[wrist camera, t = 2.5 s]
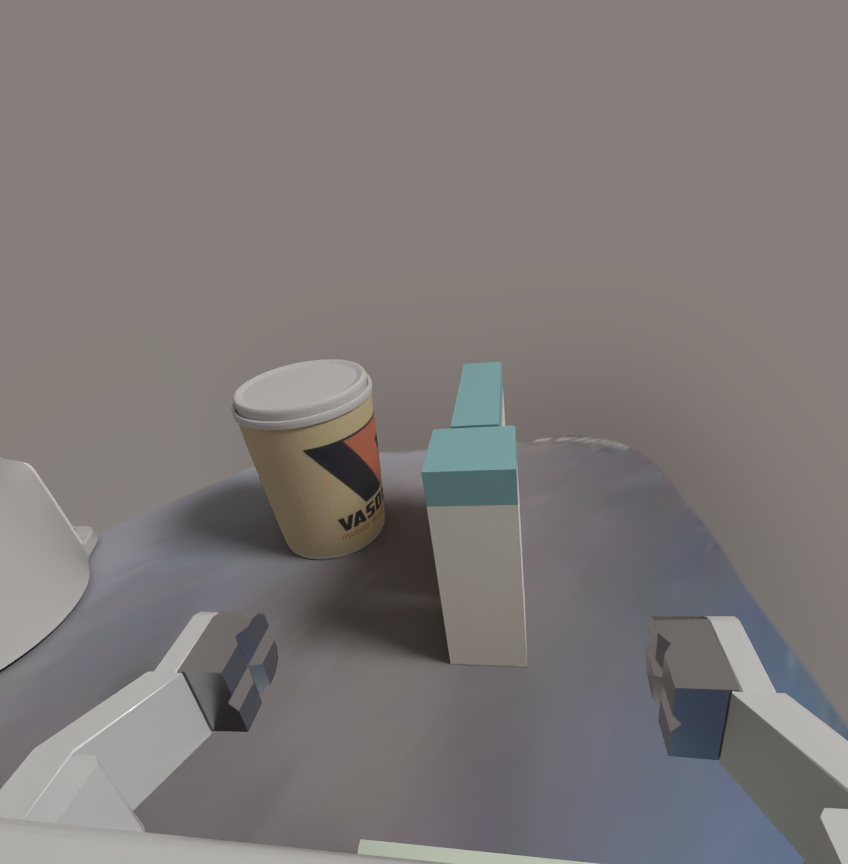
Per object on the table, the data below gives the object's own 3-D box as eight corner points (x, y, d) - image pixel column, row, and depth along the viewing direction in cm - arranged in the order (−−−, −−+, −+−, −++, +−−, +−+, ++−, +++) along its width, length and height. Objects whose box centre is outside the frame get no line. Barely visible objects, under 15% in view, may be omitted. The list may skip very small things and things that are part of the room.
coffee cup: (361, 578, 34) (322, 415, 29) (249, 557, 38) (196, 408, 33) (415, 499, 42) (392, 358, 37) (317, 487, 46) (283, 357, 40)
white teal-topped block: (450, 664, 28) (421, 472, 22) (457, 606, 31) (433, 429, 26) (527, 666, 27) (516, 469, 22) (524, 608, 30) (515, 425, 25)
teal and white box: (469, 599, 32) (448, 426, 26) (477, 511, 39) (462, 364, 34) (512, 600, 31) (500, 424, 26) (512, 510, 39) (502, 361, 34)
